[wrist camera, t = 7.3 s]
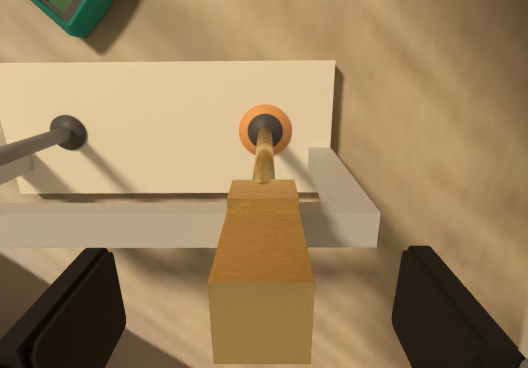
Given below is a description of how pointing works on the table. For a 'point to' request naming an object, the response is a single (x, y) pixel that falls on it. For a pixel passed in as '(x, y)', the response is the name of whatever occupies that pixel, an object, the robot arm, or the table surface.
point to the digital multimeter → (75, 14)
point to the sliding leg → (262, 272)
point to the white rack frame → (168, 150)
